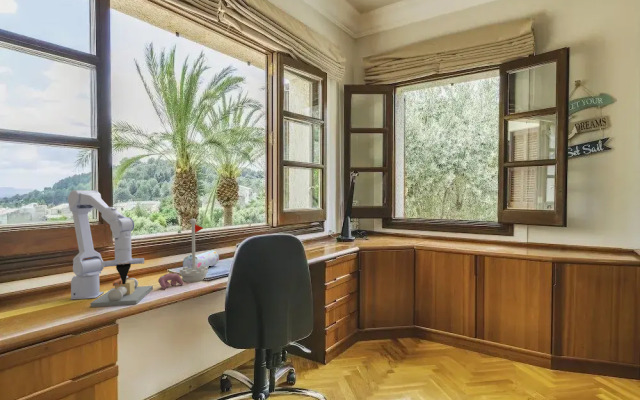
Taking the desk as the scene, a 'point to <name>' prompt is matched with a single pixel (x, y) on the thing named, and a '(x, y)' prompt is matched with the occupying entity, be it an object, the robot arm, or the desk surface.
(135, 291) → the valve board
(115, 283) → the valve lever
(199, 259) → the pencil case
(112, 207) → the robot arm
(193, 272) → the flag stand
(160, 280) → the pink animal figurine
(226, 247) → the desk surface
